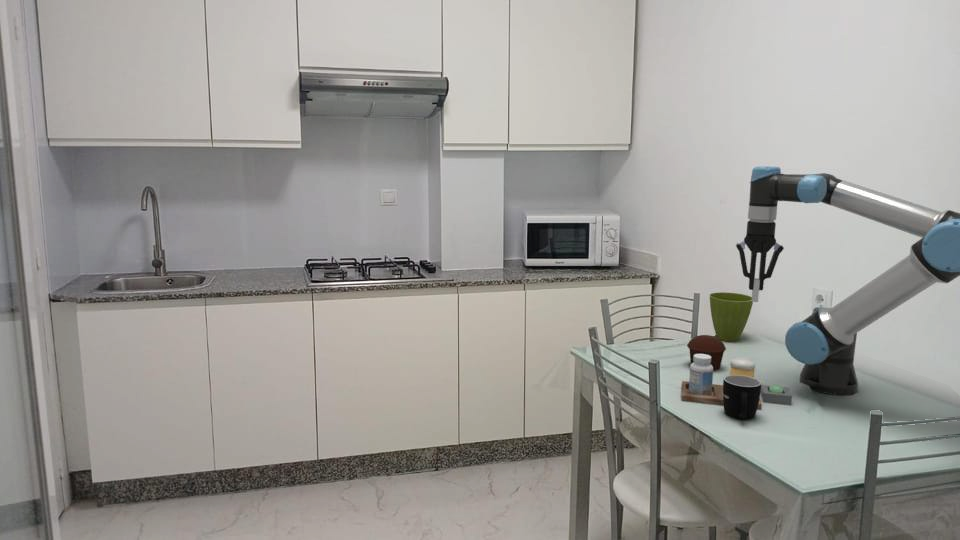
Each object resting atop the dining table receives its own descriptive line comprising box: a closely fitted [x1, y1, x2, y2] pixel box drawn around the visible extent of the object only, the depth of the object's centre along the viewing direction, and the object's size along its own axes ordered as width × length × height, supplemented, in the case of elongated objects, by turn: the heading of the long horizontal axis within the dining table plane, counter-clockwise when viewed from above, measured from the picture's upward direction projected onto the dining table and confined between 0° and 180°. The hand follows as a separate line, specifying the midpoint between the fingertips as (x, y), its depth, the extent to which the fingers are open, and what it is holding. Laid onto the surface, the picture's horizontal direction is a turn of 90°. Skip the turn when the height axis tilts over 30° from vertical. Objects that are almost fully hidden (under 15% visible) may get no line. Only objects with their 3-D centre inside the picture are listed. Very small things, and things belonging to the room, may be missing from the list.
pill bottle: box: [688, 354, 714, 396], centre depth 180 cm, size 6×6×11 cm
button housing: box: [760, 384, 793, 406], centre depth 178 cm, size 7×7×4 cm
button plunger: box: [769, 384, 784, 393], centre depth 178 cm, size 3×3×4 cm
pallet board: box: [680, 380, 763, 411], centre depth 179 cm, size 20×12×2 cm, turn 73°
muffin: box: [686, 334, 727, 372], centre depth 207 cm, size 12×11×10 cm
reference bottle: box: [729, 356, 756, 378], centre depth 177 cm, size 6×6×11 cm
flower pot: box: [709, 291, 754, 343], centre depth 238 cm, size 15×15×16 cm
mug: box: [722, 374, 762, 421], centre depth 166 cm, size 12×9×10 cm
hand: (754, 300), depth 192 cm, fingers closed
